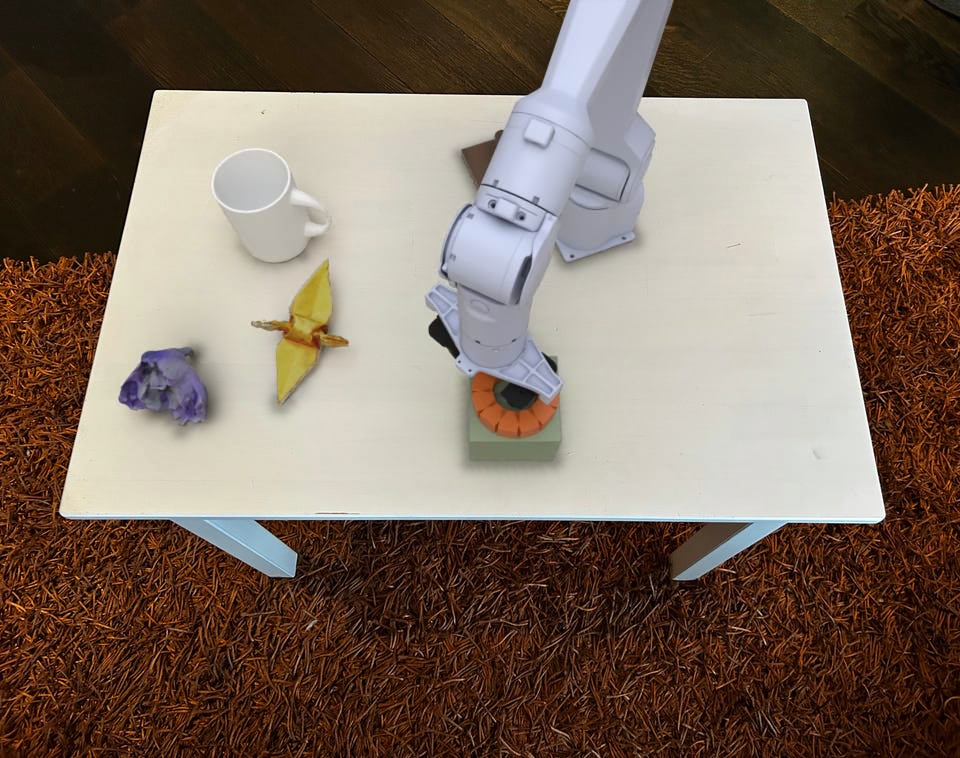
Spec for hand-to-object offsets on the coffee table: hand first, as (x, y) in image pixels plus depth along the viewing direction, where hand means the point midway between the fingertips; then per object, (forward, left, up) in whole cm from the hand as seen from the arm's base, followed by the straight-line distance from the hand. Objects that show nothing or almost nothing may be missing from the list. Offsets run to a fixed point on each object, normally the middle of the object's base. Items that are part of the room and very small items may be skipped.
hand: (490, 376), depth 65 cm
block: (-1, +3, -8) cm, 9 cm away
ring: (-1, +3, 0) cm, 3 cm away
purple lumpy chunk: (+32, -14, -9) cm, 36 cm away
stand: (-13, -29, -8) cm, 33 cm away
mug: (+15, -29, -9) cm, 34 cm away
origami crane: (+17, -15, -9) cm, 24 cm away
